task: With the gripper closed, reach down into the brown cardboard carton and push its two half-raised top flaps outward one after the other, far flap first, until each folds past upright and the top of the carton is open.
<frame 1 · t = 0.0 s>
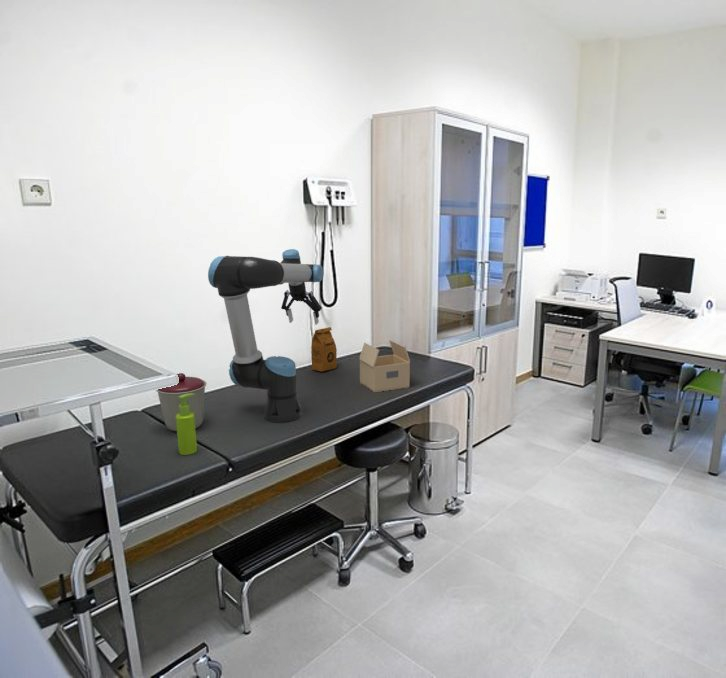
hand: (304, 322, 254), 28 cm above the table, tool tilted 20°, fingers open, 13 cm apart
carton: (384, 385, 248), on the table
soap dispenser: (189, 451, 180), on the table
near flap: (369, 354, 241), point 16 cm above the table, hinge at 70.0°
coffee package: (324, 369, 274), on the table
canister: (184, 427, 201), on the table
far flap: (399, 350, 247), point 16 cm above the table, hinge at 70.0°
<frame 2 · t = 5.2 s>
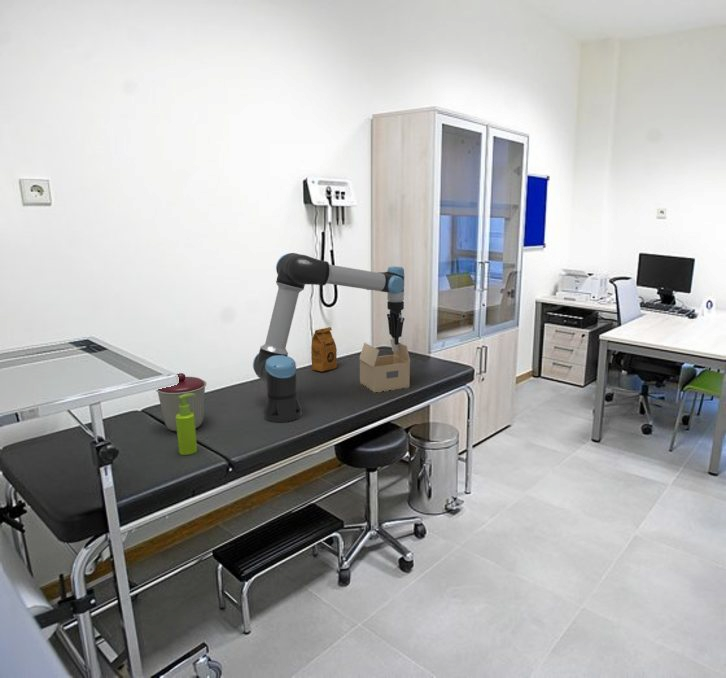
hand: (395, 350, 246), 16 cm above the table, tool pointing down, fingers closed
far flap: (400, 350, 247), point 16 cm above the table, hinge at 75.2°, touching carton, gripper
everything else where it was.
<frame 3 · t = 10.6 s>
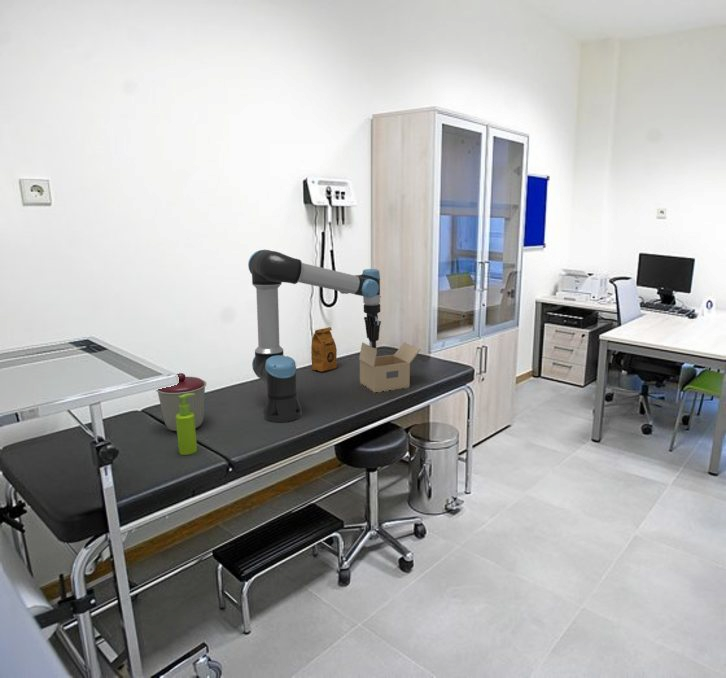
hand: (373, 354, 242), 16 cm above the table, tool pointing down, fingers closed
near flap: (367, 354, 241), point 16 cm above the table, hinge at 78.6°, touching gripper
far flap: (407, 352, 249), point 15 cm above the table, hinge at 133.2°, touching carton
everything else where it was.
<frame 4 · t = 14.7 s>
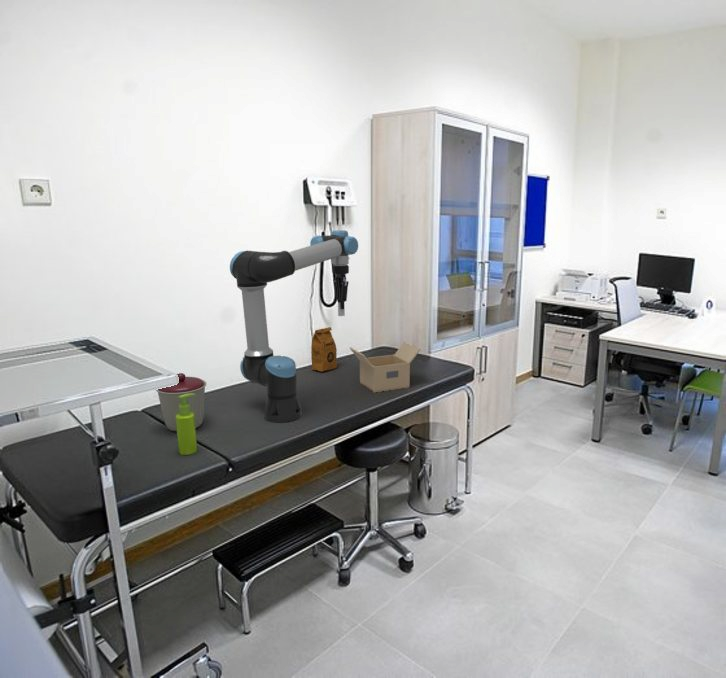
hand: (341, 315, 245), 32 cm above the table, tool pointing down, fingers closed
near flap: (361, 357, 240), point 15 cm above the table, hinge at 128.1°
everything else where it was.
at the end: far flap at +133° (first picture: +70°); near flap at +128° (first picture: +70°) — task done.
